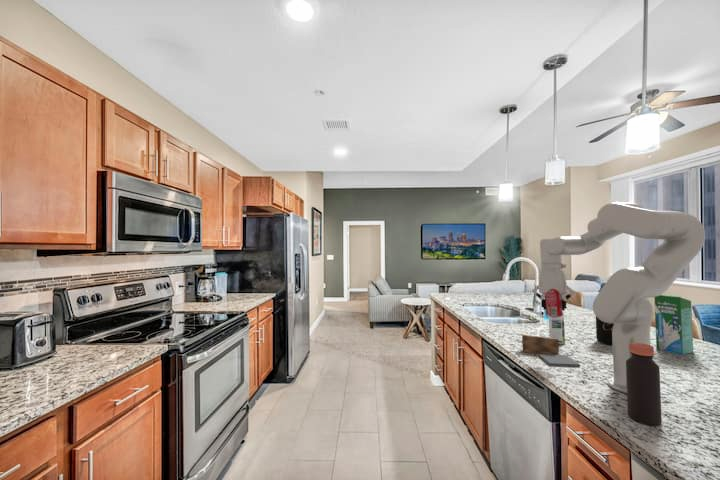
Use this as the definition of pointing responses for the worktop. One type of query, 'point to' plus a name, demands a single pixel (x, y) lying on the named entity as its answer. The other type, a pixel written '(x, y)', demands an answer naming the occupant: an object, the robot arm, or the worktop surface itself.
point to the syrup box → (557, 328)
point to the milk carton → (673, 324)
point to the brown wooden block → (540, 345)
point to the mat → (558, 360)
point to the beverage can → (553, 303)
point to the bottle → (643, 385)
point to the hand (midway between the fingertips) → (553, 309)
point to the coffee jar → (604, 332)
